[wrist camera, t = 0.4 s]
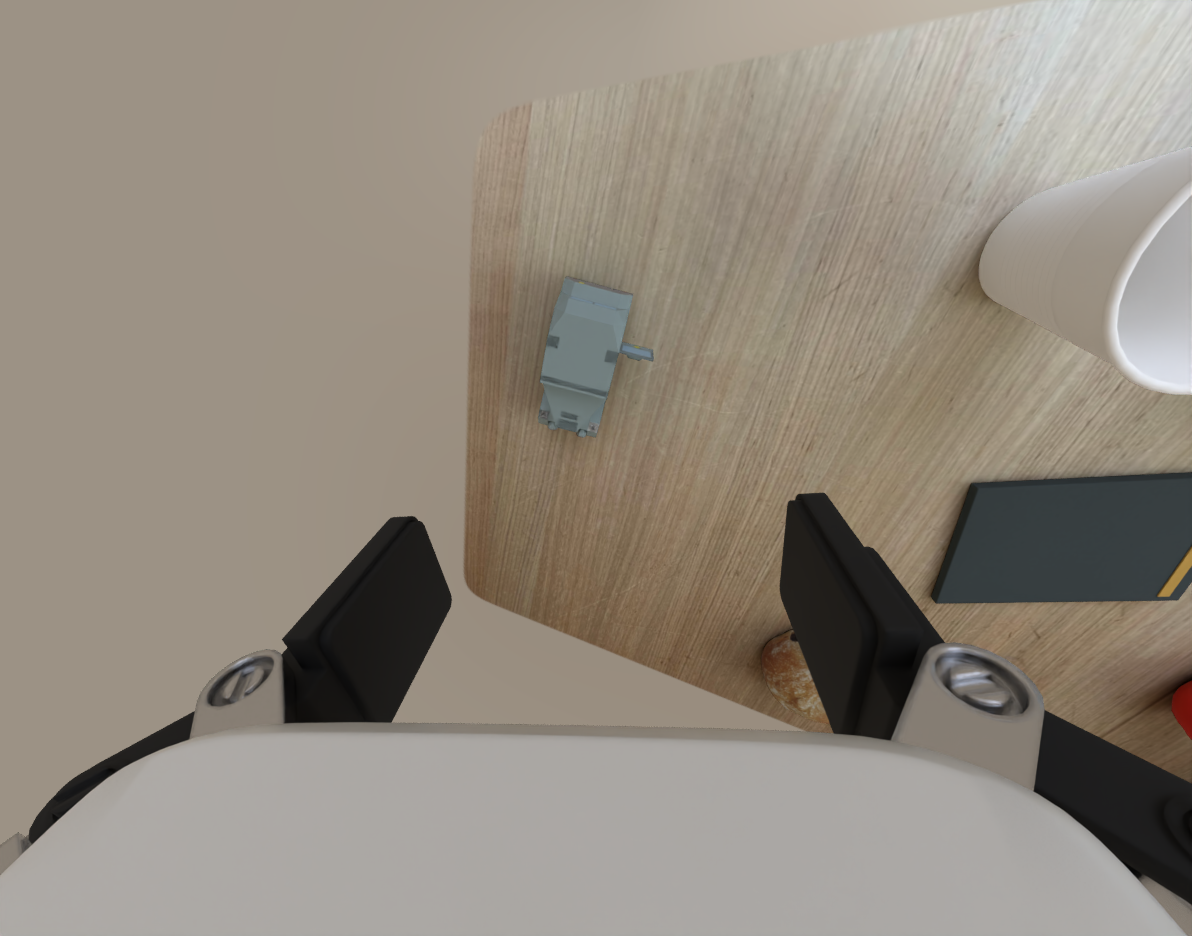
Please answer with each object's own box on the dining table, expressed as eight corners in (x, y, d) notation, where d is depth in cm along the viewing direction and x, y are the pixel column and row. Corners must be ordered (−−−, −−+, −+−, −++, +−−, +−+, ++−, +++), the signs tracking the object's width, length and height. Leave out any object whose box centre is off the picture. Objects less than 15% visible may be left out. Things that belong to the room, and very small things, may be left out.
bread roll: (840, 593, 43) (863, 630, 36) (883, 685, 43) (916, 743, 36) (745, 620, 47) (748, 660, 39) (785, 707, 46) (796, 764, 39)
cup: (1054, 101, 22) (1377, 4, 12) (1189, 203, 23) (1571, 189, 14) (900, 289, 26) (1045, 324, 17) (1019, 363, 28) (1214, 435, 18)
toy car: (544, 412, 33) (529, 440, 29) (570, 274, 28) (557, 282, 24) (625, 433, 33) (622, 463, 29) (665, 299, 28) (669, 312, 24)
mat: (970, 482, 32) (979, 489, 32) (1258, 468, 30) (1274, 475, 29) (930, 597, 38) (936, 604, 37) (1168, 593, 35) (1179, 601, 35)
